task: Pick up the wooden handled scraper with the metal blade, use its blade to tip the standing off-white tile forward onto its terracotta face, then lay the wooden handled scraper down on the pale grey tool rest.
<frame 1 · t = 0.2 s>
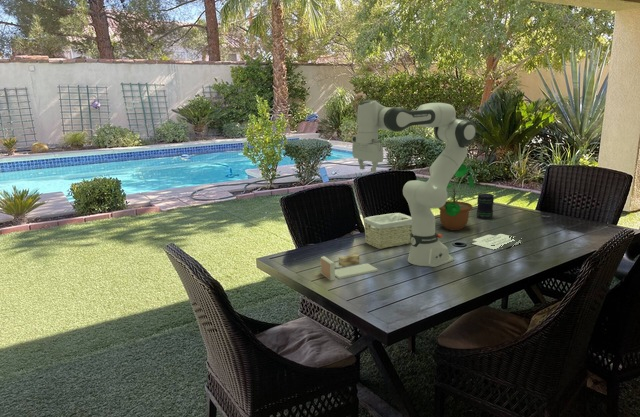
hand: (367, 170, 205), 47 cm above the table, tool pointing down, fingers open, 8 cm apart
paper stack: (497, 243, 256), on the table
tile: (327, 276, 213), on the table
storage jar: (484, 218, 304), on the table
wooden handled scraper: (343, 265, 226), on the table
storage basket: (388, 243, 258), on the table
potted plant: (447, 228, 283), on the table
tool rest: (353, 271, 217), on the table
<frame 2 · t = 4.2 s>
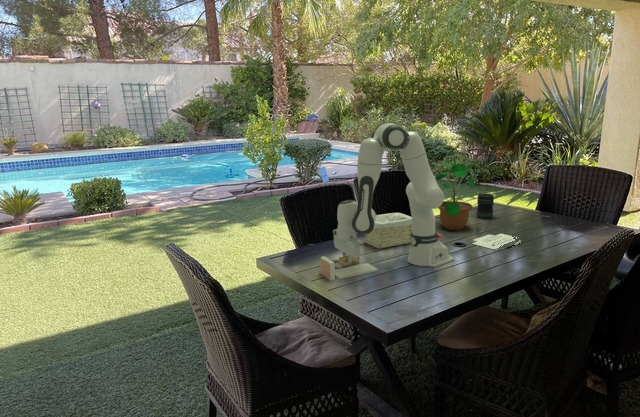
hand: (347, 261, 226), 2 cm above the table, tool pointing down, fingers closed on wooden handled scraper, 2 cm apart
wooden handled scraper: (343, 265, 226), on the table, touching gripper
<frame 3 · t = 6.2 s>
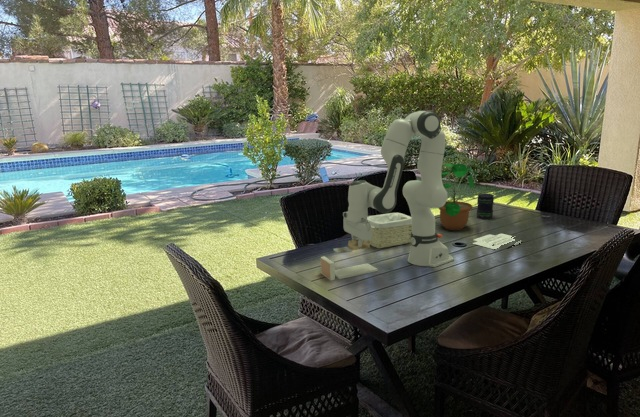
hand: (357, 245, 216), 12 cm above the table, tool pointing down, fingers closed on wooden handled scraper, 2 cm apart
wooden handled scraper: (353, 249, 216), point 11 cm above the table, touching gripper
everything else where it was.
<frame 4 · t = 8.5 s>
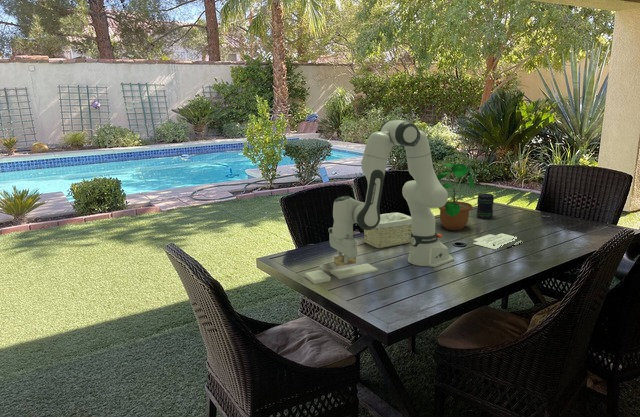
hand: (343, 261, 215), 6 cm above the table, tool pointing down, fingers closed on wooden handled scraper, 2 cm apart
tile: (325, 275, 212), point 1 cm above the table, tilted 90°
wooden handled scraper: (339, 265, 214), point 4 cm above the table, touching gripper
everything else where it was.
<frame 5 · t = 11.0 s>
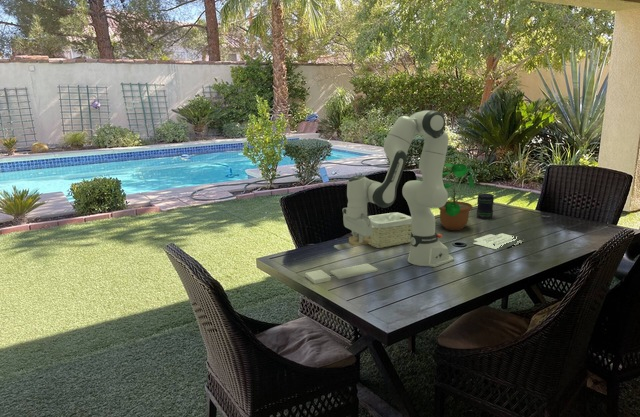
hand: (358, 241, 215), 15 cm above the table, tool pointing down, fingers closed on wooden handled scraper, 2 cm apart
wooden handled scraper: (354, 245, 214), point 13 cm above the table, touching gripper
when the fingers open (4 cm above the table, at t = 13.3 s): wooden handled scraper drops 2 cm, resting on tool rest.
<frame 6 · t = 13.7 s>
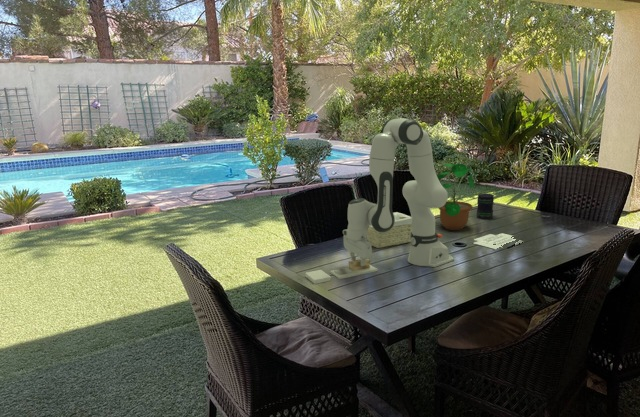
hand: (357, 262, 217), 4 cm above the table, tool pointing down, fingers open, 7 cm apart
wooden handled scraper: (353, 269, 217), point 1 cm above the table, touching tool rest
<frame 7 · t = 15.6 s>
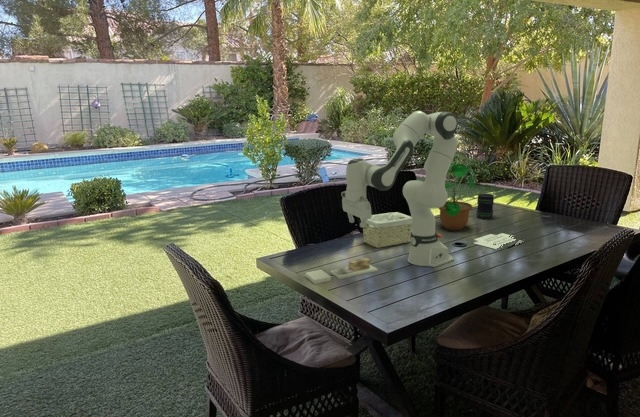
hand: (356, 224, 214), 22 cm above the table, tool pointing down, fingers open, 8 cm apart
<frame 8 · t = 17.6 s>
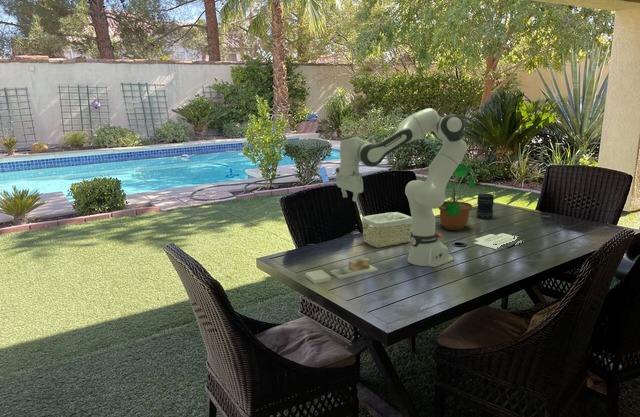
hand: (349, 199, 225), 31 cm above the table, tool pointing down, fingers open, 8 cm apart
at the end: tile tilted 90°; wooden handled scraper touching tool rest; the gripper is holding nothing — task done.
